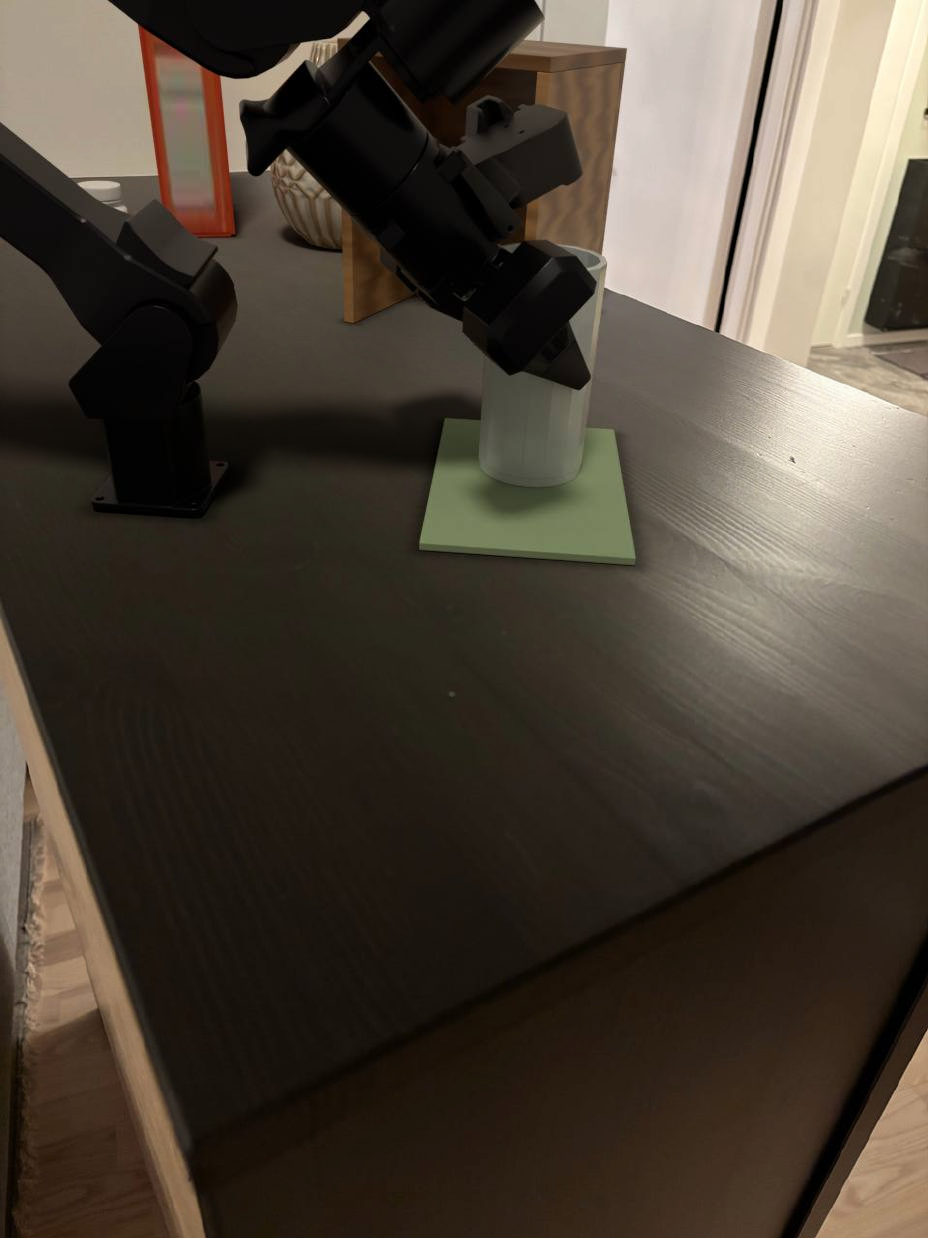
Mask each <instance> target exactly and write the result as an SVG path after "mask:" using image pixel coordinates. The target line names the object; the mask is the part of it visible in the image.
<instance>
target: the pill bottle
mask: <svg viewBox="0 0 928 1238" xmlns="http://www.w3.org/2000/svg"><path fill="white" fill-rule="evenodd" d="M77 184H78V185H79V186H80V187H82V188H83V189H84V190H85V191H87V192H88V193H89V194H90V195H92V196H93V197H94V198H96V199H97V200H99V201H100V202H102V203H104V204H106V205H108V206H110V207H113V208H115V209H118V210H120V211H123V212H125V213H128V214H129V211H128V208H127V207H126V206H125V205H124V204H122V203H121V202H122V201H123V191H122V186H121V184H120V183H119V182H116V181H111V180H87V181H81V182H78V183H77Z"/></svg>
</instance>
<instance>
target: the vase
mask: <svg viewBox="0 0 928 1238" xmlns="http://www.w3.org/2000/svg"><path fill="white" fill-rule="evenodd" d="M337 52H338V49H337V39H336V40H334V39H333V40H332V39H325V40H318V41H312V45H311V49H310V54H309V58H308V60H309V61H311V62H312V63H314V64H315V65H316V66H317V67H318V68H319V67H320V66H321V65H322V64H324V63H325V62H326V61H327V60H328V59H330V58H331V57H332V56H333V55H335V54H336V53H337ZM269 170H270V171H269V172H270V180H271V185H272V190H273V194H274V198H275V200H276V203H277V205H278V208H279V210H280V212H281V214H282V216H283V217H284V219H285V220H286V222H287V224H288V225H289V226H290V227H291V228H292V229H293V231H295V233H296V234H298V236H300V237H301V238H302V239H303V240H304V241H306V242H307V243H308V244H310V245H312V246H315V247H319V248H323V249H329V250H330V249H331V250H342V251H343V247H342V207H341V206H340V205H339V204H338V203H337V202H336V201H335V200H334V199H333V198H332V197H331V196H330V195H329V194H328V193H327V191H326V190H325V189H324V188H323V187H322V186H321V185H320V184H319V183H318V182H317V181H316V180H315V179H314V178H313V177H312V176H311V175H310V174H309V173H308V172H307V171H306V170H305V169H304V168H303V167H302V166H301V165H300V163H299V162H298V161H297V160H296V159H295V158H294V157H293V156H292V155H291V154H290V153H289V152H288V151H287V150H286V149H285V150H284V151H283V153H282V154H281V155H280V156H279V157H278V158H277V159H276V160H275V161H274V162H273V163H272V164H271V165H270V166H269Z"/></svg>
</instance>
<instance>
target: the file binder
mask: <svg viewBox="0 0 928 1238" xmlns="http://www.w3.org/2000/svg"><path fill="white" fill-rule="evenodd" d="M137 29H138V35H139V37H138V38H139V44H140V45H139V46H140V51H141V58H142V66H143V73H144V82H145V88H146V95H147V103H148V111H149V118H150V126H151V133H152V142H153V149H154V155H155V162H156V163H155V164H156V171H157V179H158V185H159V193H160V202H161V204H163V205H164V206H165V207H166V208H167V209H168V210H169V211H170V212H171V213H172V214H173V215H174V216H175V217H176V219H177V220H178V221H179V222H180V223H181V224H182V225H183V226H184V227H185V228H186V229H187V230H188V231H189V232H190V233H192V234H193V235H195V236H196V237H198V238H211V237H212V238H214V237H219V238H220V237H232V235H236V225H235V217H234V216H235V215H234V205H233V195H232V184H231V175H230V174H231V173H230V164H229V151H228V143H227V131H226V123H225V122H226V121H225V110H224V102H223V101H224V100H223V90H222V89H223V88H222V79H221V76H219V75H217V74H215V73H213V72H211V71H209V70H207V69H205V68H204V67H202V66H201V65H199V64H197V63H196V62H194V61H193V60H191V59H190V58H188V57H187V56H185V55H183V54H182V53H180V52H179V51H177V50H176V49H174V48H173V47H171V46H169V45H168V44H166V43H165V42H163V41H162V40H160V39H159V38H157V37H155V36H154V35H152V34H151V33H149V32H148V31H146V30H145V29H143V28H142V27H141V26H140V25H138V24H137Z"/></svg>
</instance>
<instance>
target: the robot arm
mask: <svg viewBox="0 0 928 1238" xmlns="http://www.w3.org/2000/svg"><path fill="white" fill-rule="evenodd" d="M107 1H108V2H109V3H110V4H111V5H113V6H114V7H115V8H117V9H118V10H119V11H121V12H122V13H123V14H124V15H126V16H127V17H128V18H129V19H131V20H132V22H134V23H135V24H137V26H138V25H140V26H141V27H142V28H143V29H145V30H146V31H148V32H149V33H151V34H152V35H154V36H155V37H157V38H159V39H160V40H162V41H163V42H165V43H166V44H168V45H169V46H171V47H173V48H174V49H176V50H177V51H179V52H180V53H182V54H183V55H185V56H187V57H188V58H190V59H191V60H193V61H194V62H196V63H197V64H199V65H201V66H202V67H204V68H205V69H207V70H209V71H211V72H213V73H215V74H217V75H219V76H220V77H223V78H228V79H233V80H246V79H247V80H248V79H252V78H255V77H256V78H257V77H259V76H260V75H262V74H264V73H266V72H268V71H270V70H272V69H274V68H275V67H276V66H278V65H280V64H281V63H283V62H285V61H287V60H288V59H289V58H290V57H291V56H292V55H293V53H294V52H295V51H296V50H297V49H298V48H299V47H300V46H301V44H303V43H311V42H314V41H318V40H332V39H333V38H335V37H336V36H337V35H339V34H340V33H342V32H343V31H345V30H346V29H347V28H349V27H350V26H351V25H352V23H353V22H354V21H355V20H356V19H357V18H358V17H359V16H360V15H361V14H362V13H364V14H366V15H367V17H368V18H369V19H367V21H366V22H365V23H364V24H363V25H362V26H361V27H360V28H359V29H358V30H357V32H355V33H354V35H352V38H351V37H350V38H351V39H350V40H349V41H348V42H347V43H346V44H345V45H344V46H343V47H342V48H341V49H340V50H339V51H338V52H337V53H336V54H335V55H333V56H332V57H331V58H330V59H328V60H327V61H326V62H325V63H324V64H322V65H321V66H320V67H319V68H318V67H317V66H316V65H315V64H314V63H312V62H311V61H309V59H304V60H303V61H302V62H301V64H299V66H298V67H296V69H294V71H293V72H292V73H291V74H290V76H289V77H287V79H285V80H284V82H283V83H282V84H281V85H280V86H279V87H278V89H276V91H275V92H274V93H272V95H271V96H270V97H269V98H265V99H260V100H252V99H247V98H246V99H244V98H243V99H241V100H240V101H239V103H238V111H239V121H240V124H241V126H242V128H243V129H242V130H243V132H244V136H245V143H244V145H245V158H246V169H247V172H248V174H249V175H250V176H252V177H255V178H257V177H260V176H262V175H263V174H264V173H265V172H266V171H267V169H268V168H270V165H271V164H272V163H273V162H274V161H275V160H276V159H277V158H278V157H279V156H280V155H281V154H282V153H283V151H284V150H285V149H286V150H287V151H288V152H289V153H290V154H291V155H292V156H293V157H294V158H295V159H296V160H297V161H298V162H299V163H300V165H301V166H302V167H303V168H304V169H305V170H306V171H307V172H308V173H309V174H310V175H311V176H312V177H313V178H314V179H315V180H316V181H317V182H318V183H319V184H320V185H321V186H322V187H323V188H324V189H325V190H326V191H327V193H328V194H329V195H330V196H331V197H332V198H333V199H334V200H335V201H336V202H337V203H338V204H339V205H340V206H341V207H342V208H343V209H344V210H345V211H346V212H347V213H348V214H349V215H350V216H351V218H350V219H351V220H352V221H353V222H354V223H355V224H356V225H357V227H358V228H359V229H360V230H361V231H362V232H363V233H365V234H366V235H367V236H368V237H370V238H371V239H372V240H374V241H375V242H376V243H377V244H378V245H379V246H380V262H381V263H382V264H383V265H384V266H385V267H386V268H387V269H388V270H389V271H390V272H391V273H392V274H393V275H394V276H395V278H396V279H397V280H398V281H399V282H401V283H402V284H403V285H404V286H405V287H406V288H407V289H409V290H410V291H411V292H412V293H413V292H414V291H415V289H416V288H419V289H418V291H417V294H416V297H417V298H418V299H420V300H421V301H422V302H424V303H425V304H426V305H427V307H430V308H431V309H433V310H435V311H437V312H439V313H441V314H443V315H446V316H448V317H450V318H452V319H454V320H456V321H459V322H461V323H462V329H461V330H462V331H461V332H462V334H464V335H465V336H466V337H467V338H468V340H469V341H470V342H471V343H473V345H474V346H475V347H477V349H479V351H481V352H482V354H483V355H486V356H487V357H488V358H489V359H490V360H491V361H492V362H493V363H495V364H496V365H497V366H498V367H499V368H500V369H502V370H503V371H504V372H505V373H506V374H507V375H509V376H511V375H514V374H517V373H519V372H525V373H528V374H531V375H534V376H537V377H541V378H543V379H546V380H549V381H552V382H555V383H558V384H561V385H563V386H566V387H569V388H572V389H575V390H581V389H582V388H583V387H584V386H585V385H586V384H587V383H588V382H589V381H590V379H591V374H590V372H589V369H588V367H587V364H586V362H585V360H584V357H583V355H582V352H581V350H580V348H579V345H578V343H577V340H576V338H575V335H574V333H573V330H572V328H571V325H570V322H569V320H570V319H571V318H572V317H573V316H574V315H575V314H576V313H577V312H578V311H579V310H580V309H581V308H582V306H583V305H584V304H585V303H586V302H587V301H588V300H589V299H590V298H591V297H592V296H593V295H594V293H595V289H596V285H597V281H596V280H595V279H594V277H593V276H592V275H591V274H590V272H589V271H588V270H587V269H586V267H585V266H584V265H583V264H582V262H581V261H580V260H579V258H578V257H577V256H576V255H574V254H572V253H570V252H568V251H567V250H565V249H563V248H561V247H559V246H558V245H556V244H554V243H552V242H550V241H548V240H525V241H523V242H522V243H521V244H520V245H519V246H518V247H517V248H516V249H515V250H514V252H513V253H512V252H510V251H509V250H507V249H505V248H504V247H502V246H501V245H499V242H500V241H501V240H502V239H504V240H506V239H508V238H509V237H510V236H511V235H512V234H513V232H514V231H515V230H516V229H517V228H518V227H519V226H520V225H521V224H522V221H521V220H520V218H519V217H518V216H517V215H516V214H515V212H514V211H513V210H514V209H517V208H520V207H523V206H525V205H527V204H529V203H530V202H532V201H534V200H536V199H537V198H539V197H541V196H543V195H545V194H546V193H548V192H550V191H552V190H554V189H555V188H557V187H559V186H561V185H565V186H568V185H570V184H572V183H574V182H575V181H577V180H578V179H579V178H580V177H581V176H582V175H583V169H582V165H581V161H580V158H579V154H578V150H577V147H576V143H575V140H574V136H573V132H572V129H571V125H570V122H569V118H568V114H567V113H566V112H565V111H562V110H558V109H555V108H551V107H548V106H545V105H541V104H536V105H531V106H527V105H524V104H522V105H520V106H518V107H517V110H518V111H517V112H515V113H514V112H513V111H512V110H511V109H510V108H509V107H508V105H507V104H506V103H505V102H504V101H503V100H501V99H499V98H496V97H493V96H490V95H487V96H485V97H483V98H481V99H480V100H478V101H476V102H474V103H472V104H471V105H469V106H468V107H467V114H466V129H465V136H464V137H462V138H460V140H461V143H462V144H461V145H459V146H458V147H454V146H452V148H451V149H450V148H448V147H446V146H444V145H442V144H441V142H440V141H439V140H438V139H436V138H434V137H433V136H432V135H431V133H430V132H429V131H428V130H427V129H426V128H425V127H424V125H423V124H422V123H421V122H420V121H419V119H418V118H417V117H416V116H415V115H414V113H413V112H412V111H411V110H410V108H409V107H408V106H407V105H406V104H405V102H404V101H403V100H402V99H401V98H400V96H399V95H398V94H397V93H396V92H395V90H394V89H393V88H392V87H391V86H390V84H389V83H388V82H387V81H386V80H385V78H384V77H383V76H382V75H381V74H380V72H379V71H378V70H377V69H376V67H375V66H374V65H373V64H372V63H371V61H370V60H371V59H372V58H373V57H374V56H375V55H376V54H377V53H378V52H380V53H381V55H382V56H383V57H384V58H385V60H386V61H387V62H388V63H389V65H390V66H391V67H392V69H393V70H394V71H395V72H396V74H397V75H398V76H399V78H400V79H401V80H402V81H403V82H404V84H405V85H406V86H407V87H408V89H409V90H410V91H411V92H412V93H413V94H414V96H415V97H416V98H417V99H418V100H419V101H420V102H421V103H422V104H423V105H426V104H427V103H428V102H429V101H430V100H431V99H433V100H434V101H435V100H436V99H437V98H438V97H439V96H440V95H441V94H442V93H443V94H444V95H445V97H446V98H447V99H448V100H449V101H450V102H451V103H452V104H453V105H454V106H457V105H458V104H459V103H460V102H461V101H462V100H463V99H464V98H465V97H466V96H467V95H468V94H469V93H470V92H471V91H472V90H473V89H474V88H475V87H476V86H477V85H478V84H479V83H480V82H481V81H482V80H483V79H484V78H485V77H486V76H487V75H488V74H489V73H490V72H491V71H492V70H493V69H494V68H495V67H496V66H497V65H498V64H500V63H501V62H502V61H503V60H504V59H505V58H506V57H507V56H508V55H509V54H510V53H511V52H512V51H513V50H514V49H515V48H516V47H517V46H518V45H519V44H520V43H521V42H522V41H523V40H526V38H527V37H528V36H529V35H530V34H531V33H533V32H534V30H535V29H536V28H538V26H539V25H541V24H542V22H543V21H544V20H545V15H544V13H543V12H542V9H541V8H540V6H539V5H538V3H537V1H536V0H107ZM0 238H1V239H2V240H4V242H6V243H7V244H9V245H10V246H11V247H12V248H14V249H15V250H16V251H18V252H19V253H21V254H22V255H23V256H24V257H26V258H27V259H28V260H30V261H31V262H32V263H34V264H35V265H37V266H38V267H39V268H40V269H41V270H42V272H44V273H45V274H46V275H47V276H48V278H49V279H50V280H51V281H52V283H53V285H54V286H55V288H56V289H57V291H58V293H59V294H60V295H61V297H62V298H63V300H64V302H65V303H66V305H67V306H68V308H69V310H70V311H71V312H72V314H73V315H74V317H75V319H76V320H77V322H78V323H79V325H80V326H81V328H83V329H84V331H86V332H87V333H88V334H89V336H91V337H92V338H93V339H94V340H95V341H96V342H97V343H98V344H99V346H98V347H97V348H96V349H95V351H94V352H93V353H92V354H91V355H90V356H89V357H88V358H87V359H86V361H85V362H84V363H83V364H82V365H81V366H80V368H78V370H77V371H76V372H75V373H74V374H73V376H72V377H71V378H70V379H69V380H68V387H69V390H70V391H71V393H72V395H73V396H74V398H75V400H76V402H77V404H78V405H79V407H80V409H81V411H82V412H83V414H84V416H85V417H86V418H88V419H91V420H92V419H93V420H100V422H101V428H102V434H103V435H102V436H103V440H104V445H105V450H106V456H107V461H108V462H107V463H108V467H109V473H110V476H109V477H108V478H107V479H106V480H105V482H104V483H103V484H102V485H101V486H100V487H99V489H98V490H97V491H96V493H95V494H94V495H93V496H92V497H91V498H90V502H91V507H92V508H93V509H96V510H104V511H105V510H106V511H118V512H119V511H120V512H134V513H146V514H147V513H148V514H149V513H150V514H161V515H177V516H188V517H189V516H190V517H195V516H196V517H197V516H200V515H203V514H204V513H205V511H206V509H207V507H208V506H209V505H210V503H211V501H212V499H213V498H214V496H215V495H216V493H217V491H218V490H219V488H220V487H221V485H222V483H223V482H224V480H225V478H226V477H227V476H228V474H229V472H230V464H229V463H228V462H226V461H222V460H221V461H219V460H210V453H209V445H208V436H207V427H206V419H205V411H204V410H205V409H204V402H203V393H202V387H201V385H200V384H199V383H198V382H197V380H199V379H200V378H201V377H202V376H204V375H205V374H206V373H207V372H208V371H210V369H211V368H212V366H213V364H214V362H215V360H216V358H217V357H218V354H219V353H220V351H221V349H222V347H223V346H224V344H225V342H226V340H227V338H228V336H229V335H230V333H231V331H232V329H233V327H234V326H235V323H236V322H237V315H238V307H239V306H238V305H239V304H238V299H237V294H236V289H235V283H234V280H233V279H232V278H231V276H230V274H229V272H228V271H227V270H226V269H225V268H224V266H222V264H221V263H220V262H219V261H217V259H215V255H216V254H217V253H218V251H219V246H218V245H216V244H214V243H212V242H209V241H206V240H202V239H201V238H200V237H196V236H195V235H193V234H192V233H190V232H189V231H188V230H187V229H186V228H185V227H184V226H183V225H182V224H181V223H180V222H179V221H178V220H177V219H176V217H175V216H174V215H173V214H172V213H171V212H170V211H169V210H168V209H167V208H166V207H165V206H164V205H163V204H162V202H161V201H159V200H158V199H156V198H152V199H151V200H150V201H149V202H146V204H145V205H144V206H142V207H141V208H140V209H139V210H137V211H136V212H135V213H133V214H130V213H129V212H128V213H125V212H123V211H120V210H118V209H115V208H113V207H110V206H108V205H106V204H104V203H102V202H100V201H99V200H97V199H96V198H94V197H93V196H92V195H90V194H89V193H88V192H87V191H85V190H84V189H83V188H82V187H80V186H79V185H78V183H77V182H75V181H74V180H73V179H72V178H71V177H70V176H69V175H67V174H65V173H64V171H62V170H61V169H59V168H58V167H57V166H56V165H54V163H52V162H51V161H49V160H48V159H47V158H46V157H45V156H43V155H42V154H41V153H40V152H38V151H37V150H36V149H35V148H33V147H32V146H31V145H30V144H28V143H27V142H26V141H25V140H24V139H22V138H21V137H20V136H19V135H17V134H16V133H15V132H14V131H12V130H11V129H9V127H7V126H6V125H5V124H3V123H2V122H1V121H0ZM492 264H494V265H492ZM495 266H497V267H495Z"/></svg>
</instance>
